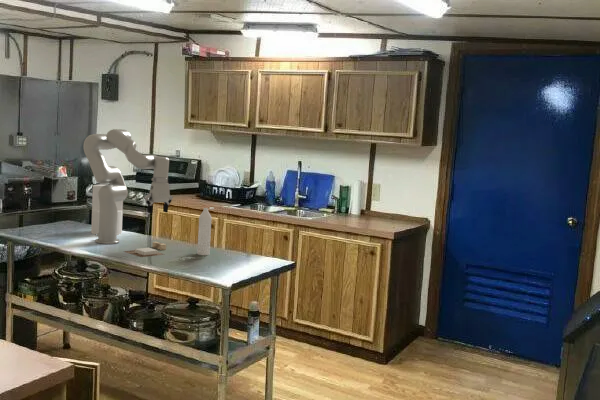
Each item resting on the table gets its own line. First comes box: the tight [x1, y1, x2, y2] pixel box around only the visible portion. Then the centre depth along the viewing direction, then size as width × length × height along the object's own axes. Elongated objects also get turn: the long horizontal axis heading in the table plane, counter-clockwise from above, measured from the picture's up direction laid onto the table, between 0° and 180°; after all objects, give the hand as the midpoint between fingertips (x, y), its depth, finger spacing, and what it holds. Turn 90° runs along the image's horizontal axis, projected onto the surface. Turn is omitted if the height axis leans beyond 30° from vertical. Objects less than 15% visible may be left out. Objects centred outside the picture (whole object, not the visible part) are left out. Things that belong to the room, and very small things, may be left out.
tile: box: [134, 247, 159, 256], centre depth 318 cm, size 2×8×8 cm
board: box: [123, 249, 165, 258], centre depth 320 cm, size 16×14×2 cm
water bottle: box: [196, 206, 215, 256], centre depth 331 cm, size 9×6×25 cm
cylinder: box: [90, 183, 124, 236], centre depth 372 cm, size 17×17×28 cm
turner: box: [151, 241, 167, 251], centre depth 332 cm, size 13×6×4 cm, turn 48°
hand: (157, 212), depth 333 cm, fingers open, 9 cm apart
